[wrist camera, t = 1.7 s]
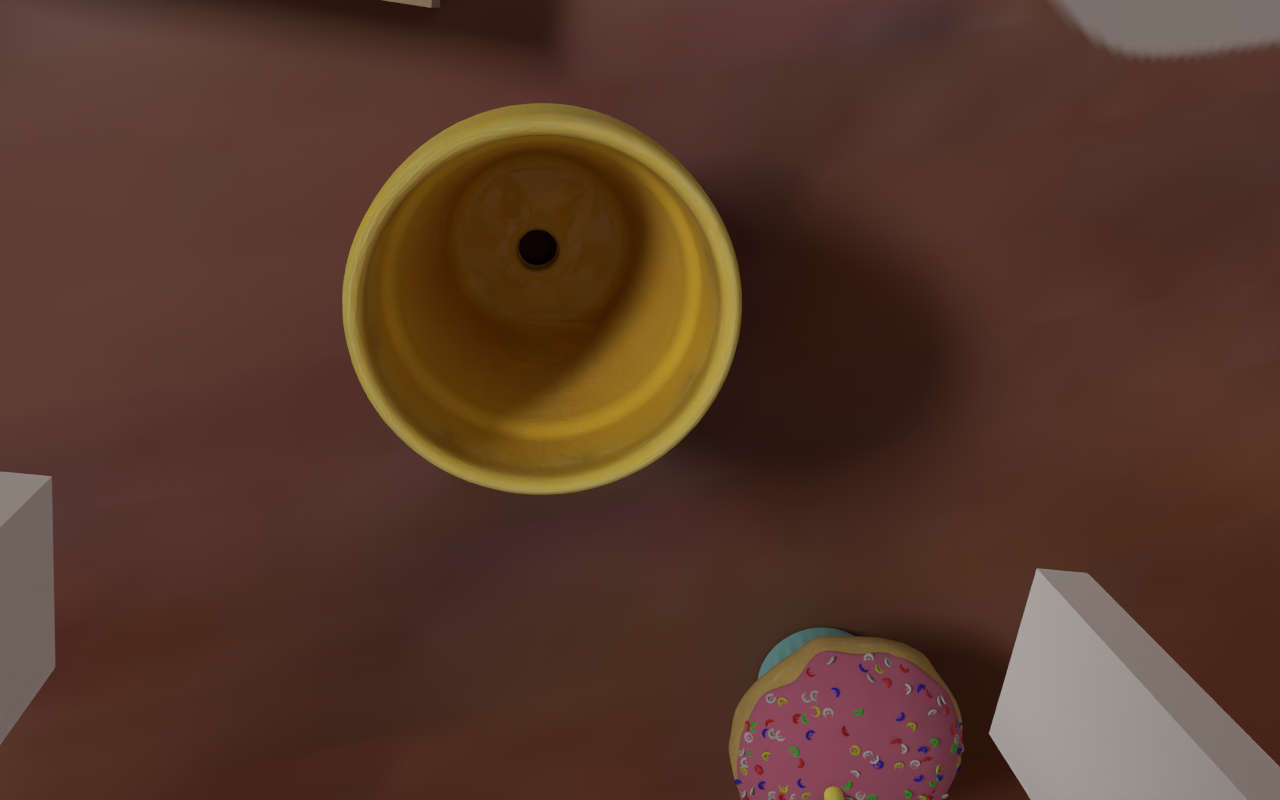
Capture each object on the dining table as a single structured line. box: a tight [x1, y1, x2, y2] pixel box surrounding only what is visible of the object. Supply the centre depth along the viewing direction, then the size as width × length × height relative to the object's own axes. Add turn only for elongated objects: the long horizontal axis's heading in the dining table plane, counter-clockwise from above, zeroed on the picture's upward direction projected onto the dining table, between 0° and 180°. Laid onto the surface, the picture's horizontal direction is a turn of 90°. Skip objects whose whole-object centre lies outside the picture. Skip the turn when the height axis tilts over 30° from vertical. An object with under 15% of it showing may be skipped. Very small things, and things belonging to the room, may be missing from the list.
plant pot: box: [342, 103, 742, 495], centre depth 33 cm, size 10×10×10 cm
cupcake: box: [729, 627, 964, 800], centre depth 39 cm, size 9×8×12 cm
